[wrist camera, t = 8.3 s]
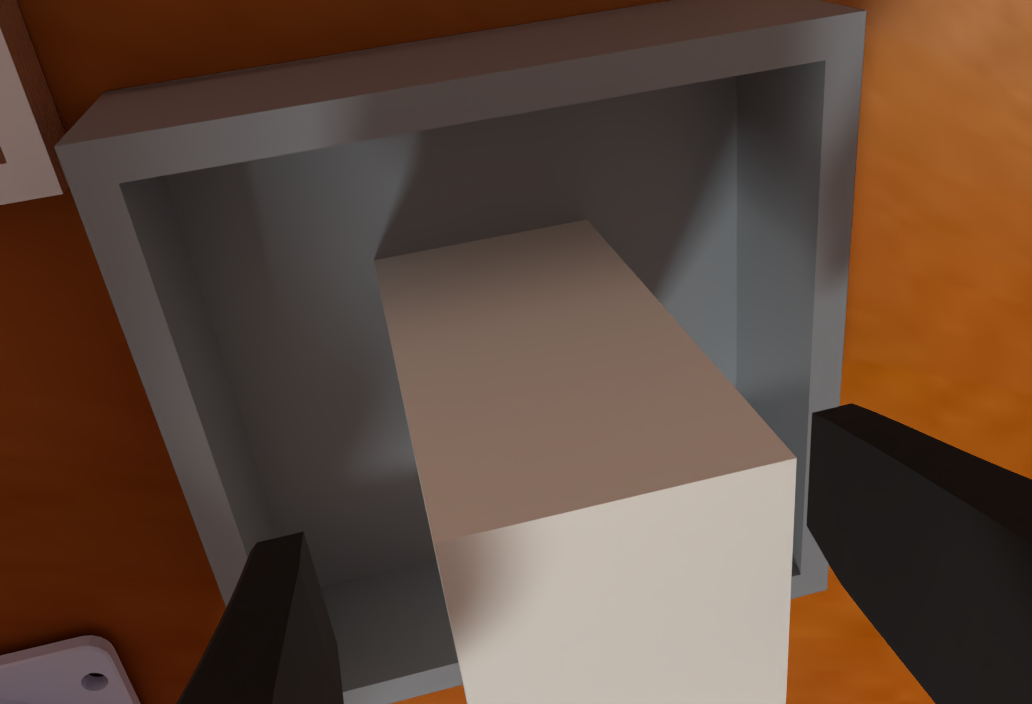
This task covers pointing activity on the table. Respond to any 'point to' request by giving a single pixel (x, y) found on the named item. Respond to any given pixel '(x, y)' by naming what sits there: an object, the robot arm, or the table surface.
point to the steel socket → (25, 117)
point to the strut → (588, 480)
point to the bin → (449, 221)
